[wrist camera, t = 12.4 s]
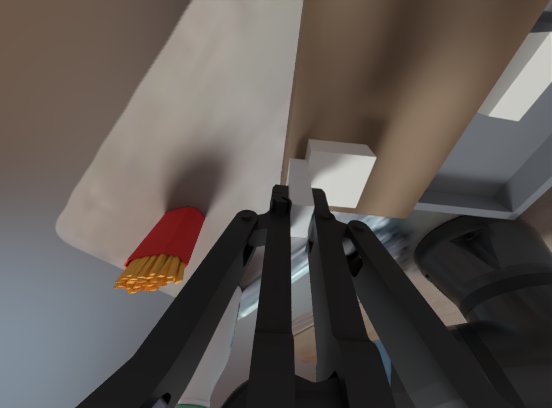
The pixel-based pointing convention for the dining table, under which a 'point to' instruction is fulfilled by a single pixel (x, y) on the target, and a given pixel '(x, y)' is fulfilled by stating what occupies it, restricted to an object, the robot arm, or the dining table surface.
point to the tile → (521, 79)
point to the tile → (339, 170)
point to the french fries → (163, 252)
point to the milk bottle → (213, 359)
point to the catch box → (498, 161)
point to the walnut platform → (399, 84)
